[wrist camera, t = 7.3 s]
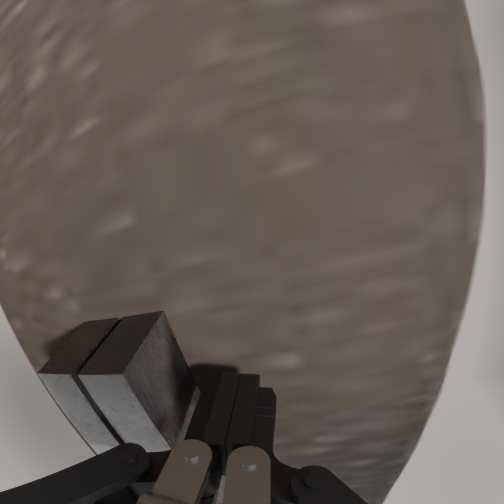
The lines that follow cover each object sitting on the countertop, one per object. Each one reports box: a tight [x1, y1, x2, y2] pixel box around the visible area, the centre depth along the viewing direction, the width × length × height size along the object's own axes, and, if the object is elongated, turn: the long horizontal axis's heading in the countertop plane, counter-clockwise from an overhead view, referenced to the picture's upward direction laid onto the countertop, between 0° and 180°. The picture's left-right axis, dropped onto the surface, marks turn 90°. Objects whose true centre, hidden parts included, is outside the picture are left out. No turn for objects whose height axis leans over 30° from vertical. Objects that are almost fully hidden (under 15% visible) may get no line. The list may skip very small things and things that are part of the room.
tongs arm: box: [78, 311, 225, 504], centre depth 13 cm, size 18×2×4 cm, turn 15°
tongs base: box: [37, 318, 125, 455], centre depth 13 cm, size 21×5×5 cm, turn 14°
